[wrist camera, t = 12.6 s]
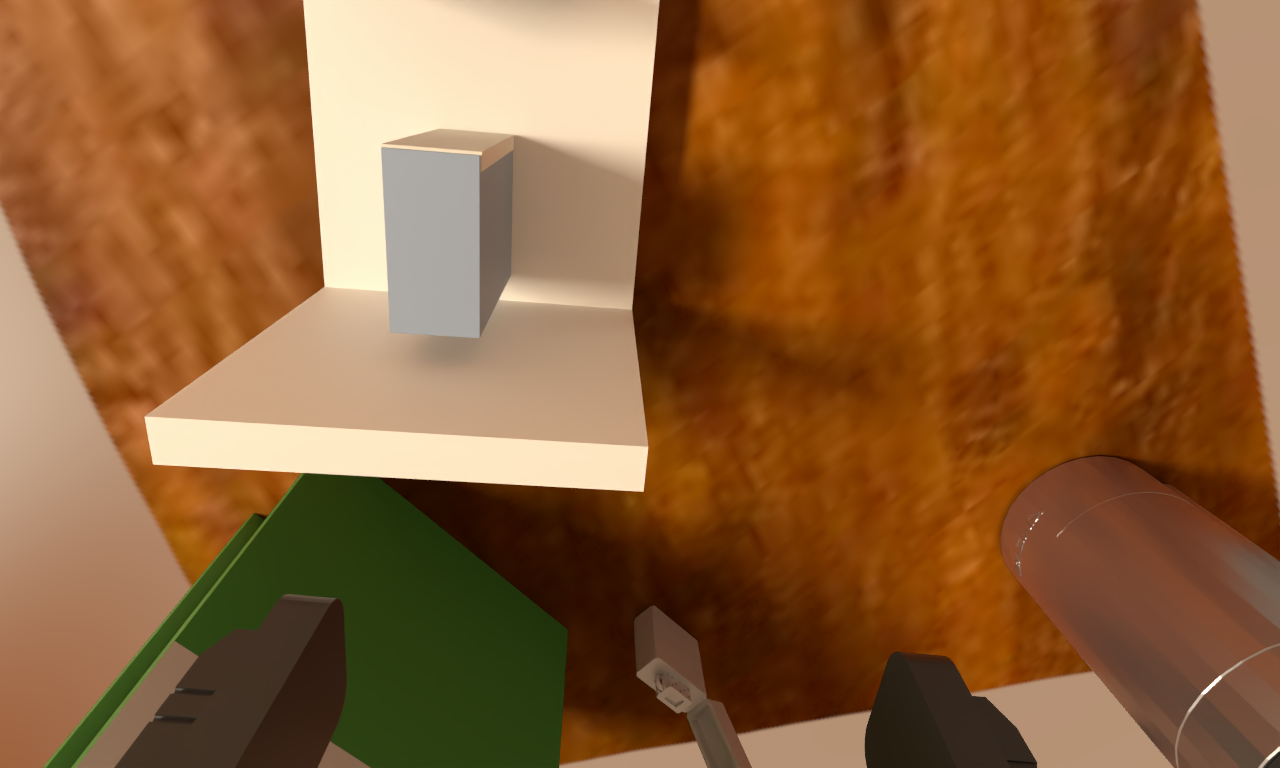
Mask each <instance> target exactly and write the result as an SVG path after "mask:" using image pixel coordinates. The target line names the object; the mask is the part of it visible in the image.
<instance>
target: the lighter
mask: <svg viewBox="0 0 1280 768" xmlns="http://www.w3.org/2000/svg"><path fill="white" fill-rule="evenodd" d="M634 636H635V655H636V673H637V677H638V678H640V679H641V680H642V681H643V682H645V683H646V684H647V685H649V686H650V687H651V688H653V689H654V690H655V691H656V698H658V699H659V700H660V701H662V702H663V703H664V704H666V705H667V706H668V707H670V708H671V709H672V710H673V711H675V712H676V713H680V712H682V711H683V712H688V713H687V719H688V721H689V724H690V726H691V728H692V731H693V733H694V736H695V738H696V741H697V743H698V746H699V748H700V750H701V753H702V755H703V758H704V760H705V763H706V765H707V767H708V768H752V767H751V765H750V763H749V761H748V758H747V756H746V754H745V752H744V750H743V747H742V745H741V743H740V741H739V739H738V736H737V734H736V732H735V730H734V727H733V725H732V723H731V721H730V719H729V716H728V714H727V712H726V710H725V708H724V705H723V703H722V702H719V701H715V700H710V699H706V697H707V695H706V689H705V683H704V677H703V671H702V665H701V659H700V653H699V647H698V641H697V640H696V639H695V638H693V637H692V636H691V635H690V634H689V633H687V632H686V631H685V630H684V629H682V628H681V627H680V626H679V625H678V624H676V623H675V622H674V621H673V620H671V619H670V618H669V617H668V616H667V615H665V614H664V613H663V612H662V611H660V610H659V609H658V608H657V607H656V606H650V607H649V608H647V609H646V610H645V611H644V612H642V613H641V614H640V615H639V616H637V617H636V618H635V619H634Z"/></svg>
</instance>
